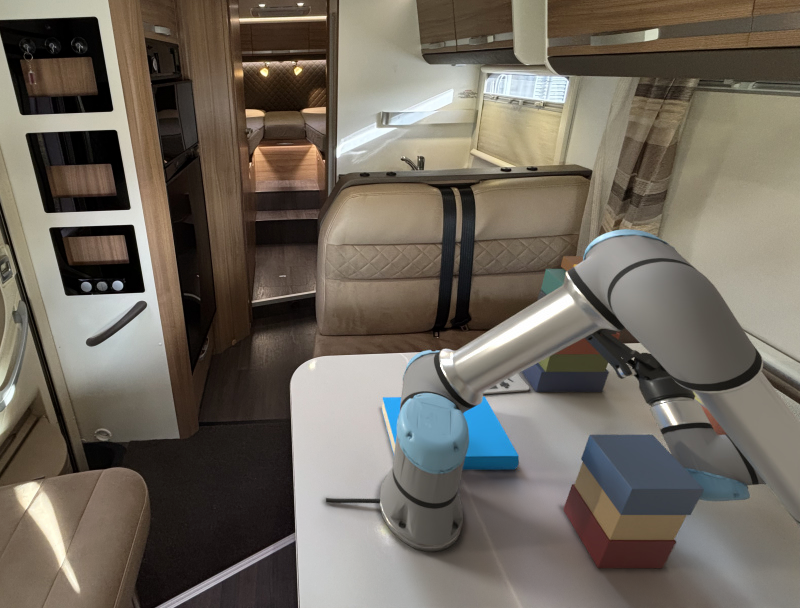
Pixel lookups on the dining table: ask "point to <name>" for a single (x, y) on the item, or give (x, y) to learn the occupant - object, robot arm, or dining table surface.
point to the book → (484, 436)
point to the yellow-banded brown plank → (570, 262)
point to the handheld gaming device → (509, 386)
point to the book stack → (568, 357)
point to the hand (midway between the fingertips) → (618, 300)
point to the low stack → (630, 501)
